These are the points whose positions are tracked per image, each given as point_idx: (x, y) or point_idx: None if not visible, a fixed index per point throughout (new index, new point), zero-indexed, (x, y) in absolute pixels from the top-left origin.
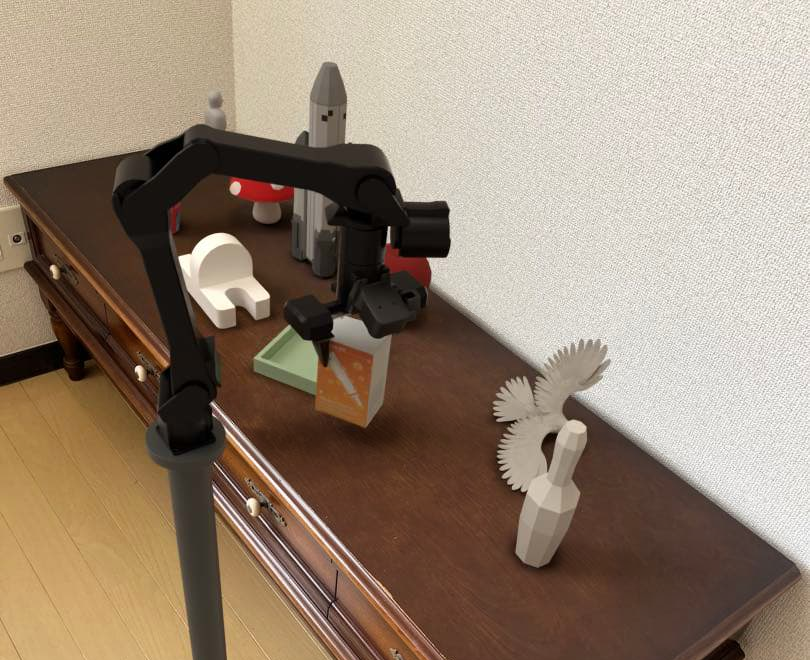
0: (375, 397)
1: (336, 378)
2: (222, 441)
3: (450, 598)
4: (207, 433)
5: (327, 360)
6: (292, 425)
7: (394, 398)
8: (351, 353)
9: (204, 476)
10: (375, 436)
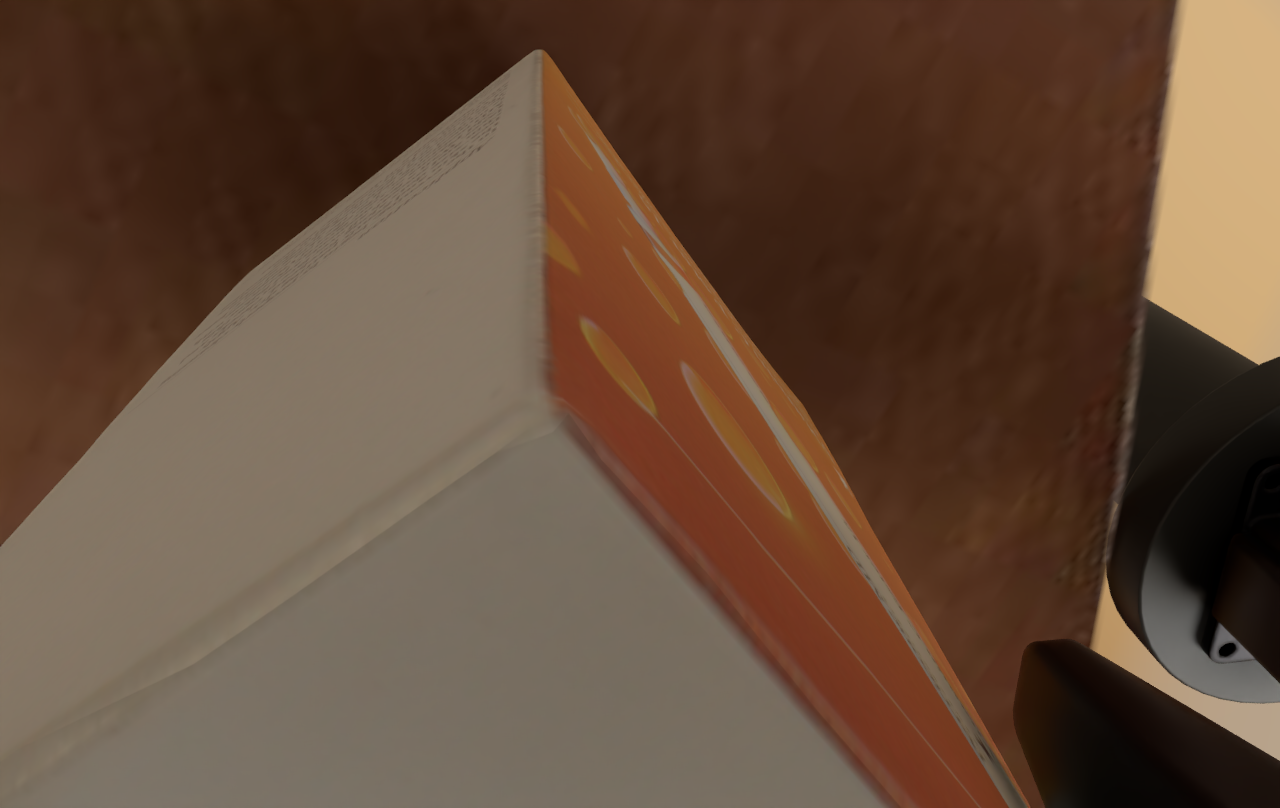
0: (379, 194)
1: (828, 492)
2: (1231, 447)
3: None
4: (1275, 518)
5: (1137, 721)
6: (851, 419)
7: (91, 409)
8: (905, 728)
9: (1181, 365)
10: (394, 105)
